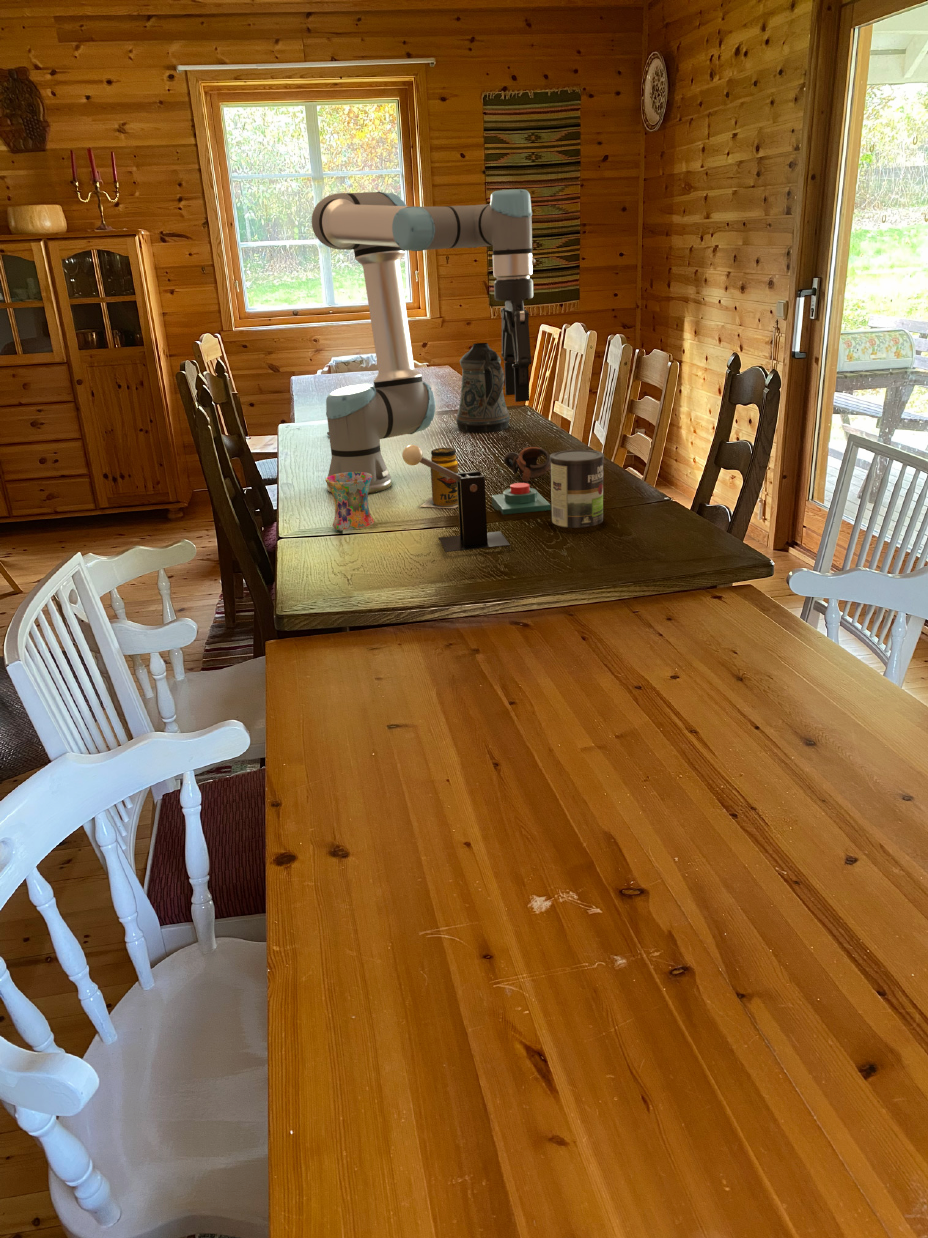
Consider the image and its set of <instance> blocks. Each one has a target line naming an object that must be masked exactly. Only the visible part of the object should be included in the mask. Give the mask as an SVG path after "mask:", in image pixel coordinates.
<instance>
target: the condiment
mask: <svg viewBox="0 0 928 1238" xmlns="http://www.w3.org/2000/svg"><path fill="white" fill-rule="evenodd" d="M430 454H431V457H430V461H432V462H434V463H436V464H438V465H440V466H442V467H444V468H446V469H448V470H450V471H452V472H454V473H459V462H458V461H457V456H456V449H455V448H452V447H438V448H434V449H432V450H431V451H430ZM429 468H430V467H429ZM430 483H431V497H428V499H427V500H426V501H425V502H424V503H422V504H421V505H419V508H423V507H424V508H436V509H437V508H438V509H456V508H458V496H457V481H456V480H454V479H452V478H450V477H448V476H446V475H444V474H442V473H440V472H438V471H436V470H434V469H432V468H430Z"/></svg>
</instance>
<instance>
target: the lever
mask: <svg viewBox="0 0 928 1238" xmlns="http://www.w3.org/2000/svg"><path fill="white" fill-rule="evenodd" d="M423 455H424V454H423V451H422V449H421V448H420V447H419V446H418V445H416V444H409V445H407V446H405V447H404V449H403V450H402V456H401V457H402V460H403V462H405V464H407V465H409V466H417V465H419V464H421V465H424V466H426V467H428V468H432V469H434V470H436V471H438V472H440V473H442V474H444V475H446V476H448V477H450V478H452V479H454V480H456V481H458V482H460V478H462V476H460V475H458V474H456V473H454V472H452V471H450V470H448V469H446V468H444V467H442V466H440V465H438V464H436V463H434V462H432V461H431V459H428V458H426V457H424V456H423ZM465 477H471V476H469V475H467V474H466V475H465Z"/></svg>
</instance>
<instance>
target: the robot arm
mask: <svg viewBox="0 0 928 1238" xmlns="http://www.w3.org/2000/svg"><path fill="white" fill-rule="evenodd" d="M531 200H532V199H531V194H530V192H529V191H528V190H527V189H522V188H521V189H520V188H519V189H517V188H516V189H515V188H514V189H501V190H495V191H493V192H492V193H491V194H490V203H489V204H488V203H487V204H475V205H473V204H472V205H443V206H415V205H414V206H409V205H408V206H407V204H406V203H405V201H404V200H403V199H402V198H401V196H399V195H397V194H396V193H392V192H383V191H370V192H367V191H366V192H337V193H332V194H329V195H326V196H324V197H323V198H321V199H320V200H319V201H318V202H317V203H316V205H315V206H314V208H313V210H312V213H311V221H310V222H311V228H312V231H313V233H314V235H315V238H317V240H318V241H319V243H321V244H322V245H324V246H325V247H328V248H330V249H334V250H340V251H341V250H343V251H344V250H348V251H351V250H353V253H354V260H355V261H356V262H357V263H358V264H360V265H361V266H362V269H363V276H364V283H365V289H366V297H367V303H368V311H369V318H370V324H371V330H372V338H373V344H374V345H373V346H374V350H375V359H376V364H377V370H378V373H377V375H376V376H375V378H374V379H373V384H370V383H359V384H355V385H353V384H352V385H348V386H347V385H346V386H344V387H340V388H337V389H335V390H334V391H332V392H329V394H328V395H327V397H326V399H325V400H326V401H325V402H326V403H325V410H326V411H325V416H326V419H327V428H328V431H327V432H326V435H327V436H329V445H330V454H331V459H330V465H329V468H328V473H327V477H329V476H331V475H334V474H339V473H345V472H365V473H369V474H371V475H372V478H371V481H370V485H369V490H368V494H373V493H379V492H382V491H384V490H387V489H389V488H390V487H391V486H392V479H391V478H392V477H391V474H390V472H389V470H388V467H387V465H386V463H385V462H386V461H385V460H384V457H383V455H382V450H381V440H383V439H388V438H394V437H399V436H405V435H414V434H416V433H419V432H422V431H425V430H426V429H428V428H429V427H430V425H431V424H432V421H433V420H434V417H435V415H436V406H437V405H436V396H435V393H434V391H433V390H432V387H431V386H430V384H429V383H427V382H425V381H423V375H422V373H421V372H419V371H418V369H417V370H416V368H415V363H414V356H413V349H412V341H411V334H410V326H409V320H408V312H407V305H406V297H405V291H404V283H403V275H402V267H401V260H402V259H403V257H404V256H405V254H406V252H407V251H408V252H409V251H411V252H422V251H431V250H442V249H443V250H444V249H447V250H448V249H466V248H467V249H472V248H473V249H475V248H482V247H492V271H493V273H492V274H493V277H494V278H496V280H494V282H493V290H494V291H493V293H494V294H493V295H494V300H495V301H496V302H497V301H498V302H504V307H501V308H500V314H501V358H502V359H503V362H504V363H503V367H504V368H503V370H504V391H505V393H504V394H505V395H504V396H514V401H515V403H519V402H520V403H521V402H530V374H529V373H530V372H529V370H530V369H529V367H530V365H531V364H532V355H531V354H532V353H531V352H532V351H531V341H530V340H531V338H530V327H529V326H530V324H529V323H530V322H529V321H530V319H529V318H530V312H529V310H527V309H525V307H524V306H525V305H524V301H526V300H531V299H533V297H534V280H533V279H532V278H530V277H531V276H532V275H533V265H534V264H535V263H536V259H535V258H533V222H532V221H533V219H532V217H533V211H532V201H531ZM326 488H327V491H328V492H329V493H331V490H330V488H329V486H328V484H327V483H326Z"/></svg>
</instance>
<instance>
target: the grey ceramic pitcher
mask: <svg viewBox="0 0 928 1238" xmlns="http://www.w3.org/2000/svg"><path fill="white" fill-rule="evenodd" d="M501 358H502V357H500V355H499V354H498V353H497V352H496V351H495V350H494V349H492V348H491V347H490V346H489V342H476V343H473V344H472V346H471V348H470V350H469V351H467V352H466V353H465V354H464V355H463V356H461V358H460V359H459V364H460V368H461V369H462V375H461V387H460V399H459V405H458V411H457V414H456V417H455V421H456V425H457V429H458V431H459V432H464V433H473V434H478V433H480V434H481V433H482V434H485V433H493V432H500V431H504V430H506V429H507V428H509V425H510V424H509V423H510V417H511V416H510V413H509V410H508V408H507V403H506V400H505V395H504V394H505V393H504V386H505V371H504V368H503V367H502V365H501V362H502V359H501Z"/></svg>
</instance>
